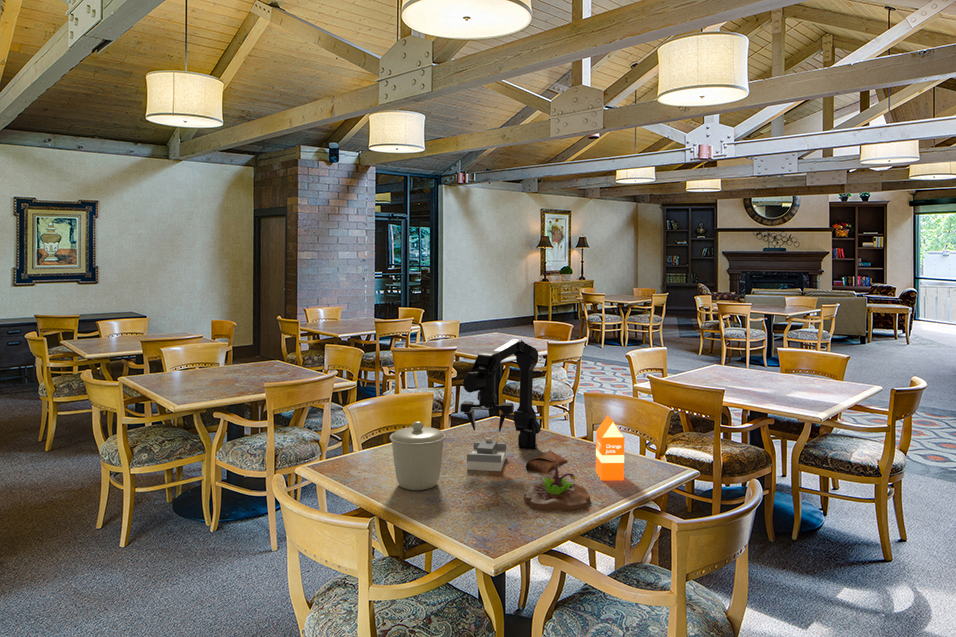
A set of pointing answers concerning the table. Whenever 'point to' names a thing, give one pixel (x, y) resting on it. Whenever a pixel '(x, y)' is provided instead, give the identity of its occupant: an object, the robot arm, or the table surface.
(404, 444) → the canister
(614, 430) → the orange juice
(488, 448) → the grey knobbed block
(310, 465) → the table surface
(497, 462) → the stand
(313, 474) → the table surface
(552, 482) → the plant
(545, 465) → the sunglasses case
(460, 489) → the table surface
